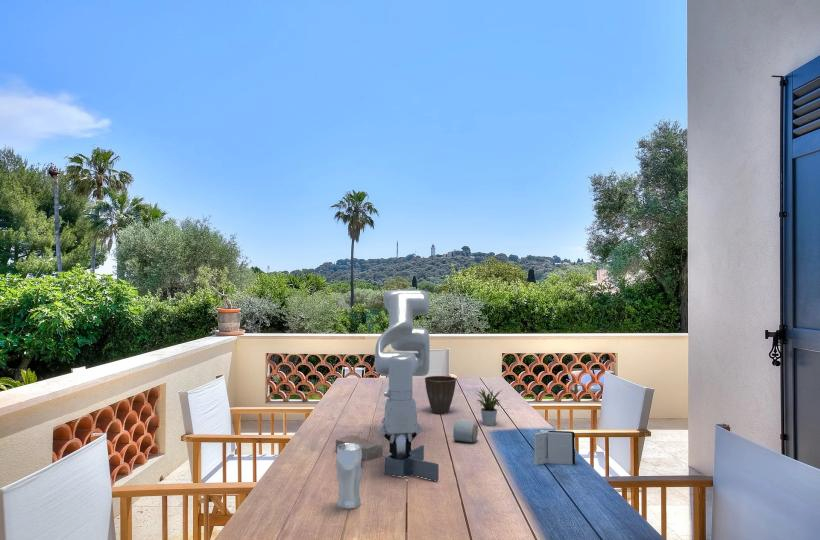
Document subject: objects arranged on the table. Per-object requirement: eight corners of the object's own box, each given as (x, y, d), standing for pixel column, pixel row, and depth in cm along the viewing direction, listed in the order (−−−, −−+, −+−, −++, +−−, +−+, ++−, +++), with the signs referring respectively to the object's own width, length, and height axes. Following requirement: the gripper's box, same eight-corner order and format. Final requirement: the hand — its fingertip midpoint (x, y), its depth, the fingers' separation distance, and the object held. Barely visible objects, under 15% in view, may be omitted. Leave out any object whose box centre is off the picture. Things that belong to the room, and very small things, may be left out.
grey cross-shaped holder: (384, 473, 152) (384, 457, 153) (413, 458, 167) (414, 443, 167) (431, 485, 143) (431, 467, 143) (458, 468, 157) (458, 452, 158)
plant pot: (461, 411, 236) (461, 377, 237) (446, 417, 223) (446, 382, 224) (434, 407, 244) (434, 374, 245) (418, 413, 231) (418, 379, 232)
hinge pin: (389, 462, 153) (389, 426, 153) (398, 457, 157) (398, 423, 158) (402, 465, 150) (402, 429, 151) (411, 460, 154) (411, 425, 155)
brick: (384, 456, 170) (384, 442, 171) (367, 462, 164) (367, 447, 164) (351, 446, 181) (351, 433, 181) (334, 452, 175) (334, 438, 175)
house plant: (465, 426, 208) (465, 387, 209) (473, 418, 221) (473, 382, 222) (499, 429, 203) (498, 389, 204) (505, 422, 216) (505, 384, 217)
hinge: (535, 465, 160) (534, 434, 161) (530, 460, 166) (530, 429, 166) (577, 464, 161) (576, 433, 162) (570, 459, 166) (570, 429, 167)
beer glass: (336, 499, 133) (337, 442, 134) (362, 498, 133) (363, 442, 134) (334, 510, 126) (335, 450, 127) (362, 509, 126) (362, 450, 127)
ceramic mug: (474, 445, 182) (474, 424, 182) (452, 442, 185) (452, 422, 185) (480, 438, 192) (480, 418, 192) (460, 435, 195) (460, 416, 195)
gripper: (375, 398, 149) (375, 460, 148) (429, 396, 153) (429, 456, 152) (372, 393, 157) (372, 452, 156) (423, 391, 160) (423, 449, 159)
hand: (400, 453), depth 154 cm, fingers closed on hinge pin, 3 cm apart
